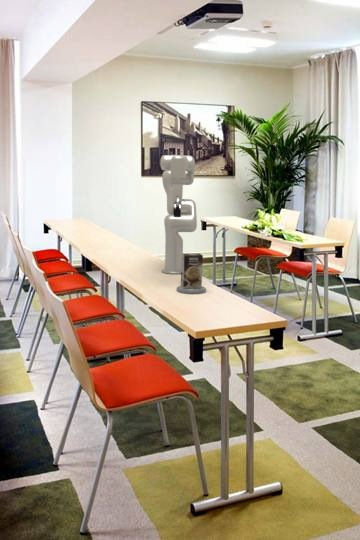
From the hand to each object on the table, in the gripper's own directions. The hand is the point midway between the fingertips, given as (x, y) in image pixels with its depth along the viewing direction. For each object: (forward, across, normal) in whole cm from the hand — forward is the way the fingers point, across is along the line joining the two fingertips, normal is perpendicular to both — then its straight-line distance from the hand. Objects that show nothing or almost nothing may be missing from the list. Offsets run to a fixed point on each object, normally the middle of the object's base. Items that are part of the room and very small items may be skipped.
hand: (176, 216), depth 306 cm
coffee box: (+32, +19, +7) cm, 38 cm away
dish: (+33, +19, +7) cm, 39 cm away
